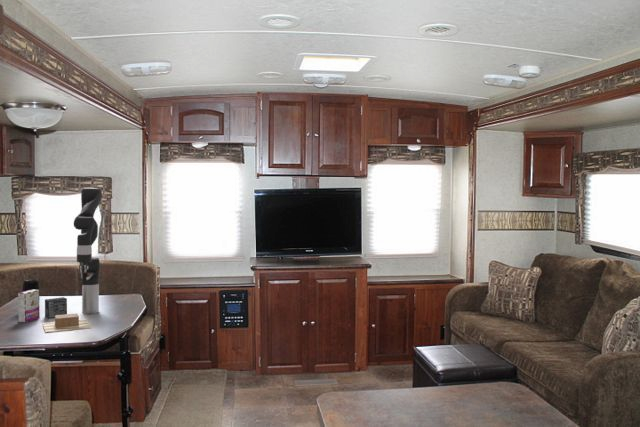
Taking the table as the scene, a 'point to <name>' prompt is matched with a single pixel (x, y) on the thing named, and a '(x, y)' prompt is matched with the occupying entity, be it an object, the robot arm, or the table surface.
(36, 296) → the candy bar box
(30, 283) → the portable speaker
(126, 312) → the table surface
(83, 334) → the table surface
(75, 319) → the walnut block
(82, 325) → the beige cloth mat
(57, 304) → the small box
